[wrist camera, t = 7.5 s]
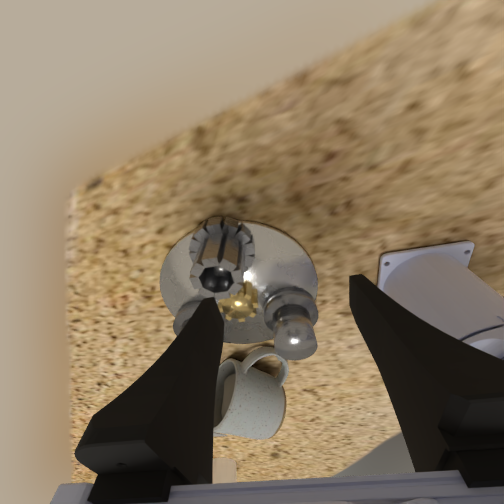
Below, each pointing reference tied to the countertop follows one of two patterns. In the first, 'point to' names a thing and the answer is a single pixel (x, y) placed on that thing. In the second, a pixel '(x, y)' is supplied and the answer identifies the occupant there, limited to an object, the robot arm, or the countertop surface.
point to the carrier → (254, 294)
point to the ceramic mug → (250, 397)
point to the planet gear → (220, 256)
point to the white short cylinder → (224, 470)
